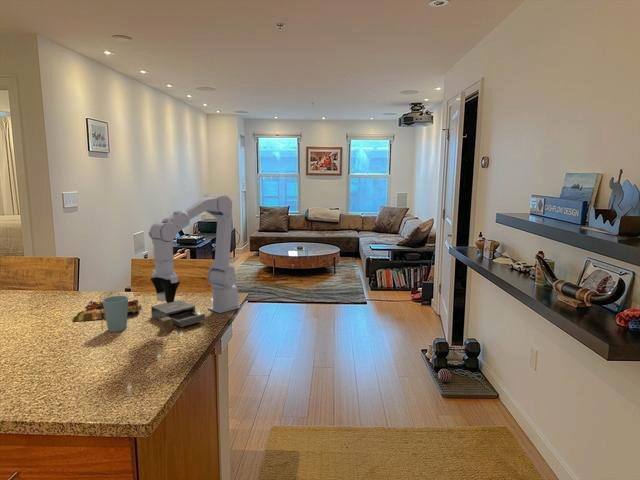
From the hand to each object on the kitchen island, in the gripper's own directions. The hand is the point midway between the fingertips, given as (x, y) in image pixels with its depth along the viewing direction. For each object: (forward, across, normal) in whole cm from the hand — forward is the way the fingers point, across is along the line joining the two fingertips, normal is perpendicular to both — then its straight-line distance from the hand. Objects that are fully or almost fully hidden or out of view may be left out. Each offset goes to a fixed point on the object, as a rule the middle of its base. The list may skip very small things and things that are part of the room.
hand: (166, 300), depth 133 cm
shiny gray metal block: (+10, -10, +7) cm, 16 cm away
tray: (+9, -2, +8) cm, 12 cm away
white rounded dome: (-1, 0, 0) cm, 1 cm away
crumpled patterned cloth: (+11, -32, -8) cm, 34 cm away
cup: (+10, -12, -12) cm, 20 cm away
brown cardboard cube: (+10, 0, 0) cm, 10 cm away
